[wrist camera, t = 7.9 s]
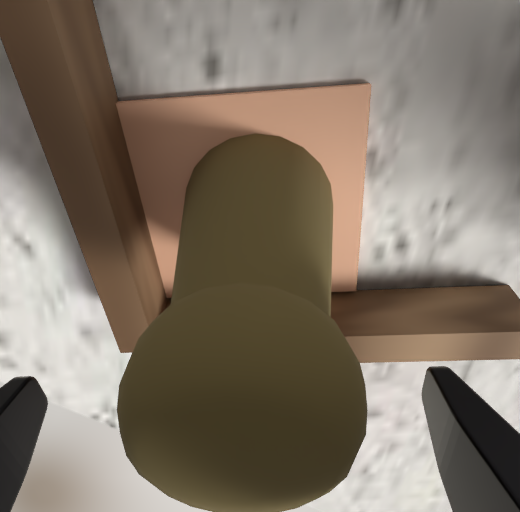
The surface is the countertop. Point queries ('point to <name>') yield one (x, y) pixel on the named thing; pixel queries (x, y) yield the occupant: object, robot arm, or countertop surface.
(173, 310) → the olive pepper mill
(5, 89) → the countertop surface
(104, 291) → the corner arena
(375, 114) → the countertop surface
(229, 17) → the countertop surface
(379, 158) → the countertop surface
